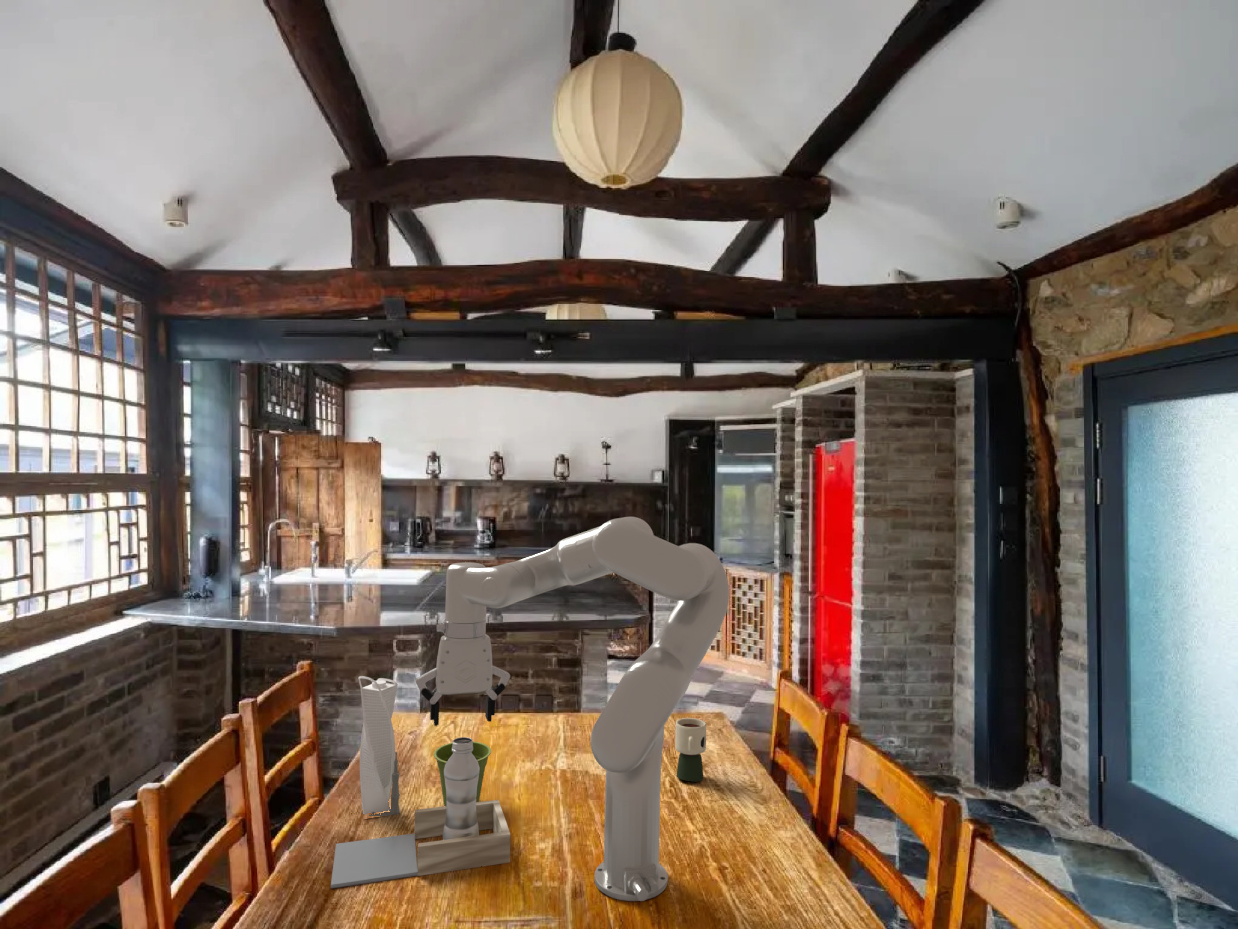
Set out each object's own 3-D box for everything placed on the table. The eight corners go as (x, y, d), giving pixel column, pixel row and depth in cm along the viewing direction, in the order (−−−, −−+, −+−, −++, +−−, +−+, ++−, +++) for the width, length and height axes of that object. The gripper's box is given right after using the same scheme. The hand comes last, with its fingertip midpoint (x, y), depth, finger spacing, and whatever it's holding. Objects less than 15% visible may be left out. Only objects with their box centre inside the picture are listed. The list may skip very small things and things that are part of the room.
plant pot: (420, 812, 147) (422, 757, 148) (453, 789, 159) (454, 738, 159) (470, 823, 143) (472, 766, 144) (500, 798, 154) (501, 745, 155)
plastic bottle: (470, 860, 129) (473, 748, 130) (435, 855, 131) (438, 745, 131) (484, 842, 136) (486, 736, 136) (451, 838, 137) (453, 733, 137)
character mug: (706, 790, 160) (707, 731, 161) (674, 788, 161) (675, 730, 161) (704, 770, 171) (705, 715, 172) (674, 769, 172) (675, 714, 172)
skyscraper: (356, 822, 143) (359, 681, 144) (353, 805, 150) (357, 671, 151) (399, 815, 146) (403, 678, 147) (395, 799, 154) (398, 668, 154)
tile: (417, 875, 124) (417, 872, 124) (330, 888, 120) (330, 885, 120) (414, 836, 137) (414, 833, 137) (336, 847, 133) (336, 843, 133)
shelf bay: (509, 862, 129) (510, 834, 129) (417, 876, 124) (418, 847, 124) (497, 825, 143) (498, 799, 143) (414, 836, 138) (414, 810, 138)
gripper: (418, 636, 128) (415, 732, 127) (514, 632, 133) (511, 724, 133) (416, 627, 135) (413, 718, 135) (508, 623, 140) (505, 711, 140)
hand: (462, 721), depth 134 cm, fingers open, 9 cm apart
